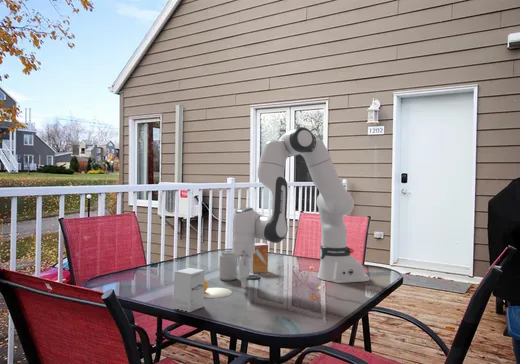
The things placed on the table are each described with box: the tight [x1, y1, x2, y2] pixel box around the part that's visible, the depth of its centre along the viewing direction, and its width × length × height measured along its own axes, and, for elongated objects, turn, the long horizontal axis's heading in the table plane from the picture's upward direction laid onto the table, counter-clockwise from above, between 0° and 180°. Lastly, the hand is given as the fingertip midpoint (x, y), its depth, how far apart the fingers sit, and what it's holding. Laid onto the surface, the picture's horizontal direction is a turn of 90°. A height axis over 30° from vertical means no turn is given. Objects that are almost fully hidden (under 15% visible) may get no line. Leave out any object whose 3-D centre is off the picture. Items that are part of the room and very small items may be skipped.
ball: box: [204, 278, 209, 292], centre depth 146 cm, size 6×6×6 cm
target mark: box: [204, 287, 233, 299], centre depth 147 cm, size 13×13×1 cm
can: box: [219, 250, 238, 282], centre depth 168 cm, size 8×8×12 cm
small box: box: [249, 242, 269, 274], centre depth 183 cm, size 8×6×13 cm
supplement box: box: [173, 267, 206, 313], centre depth 129 cm, size 7×7×13 cm
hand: (243, 283), depth 152 cm, fingers open, 8 cm apart
